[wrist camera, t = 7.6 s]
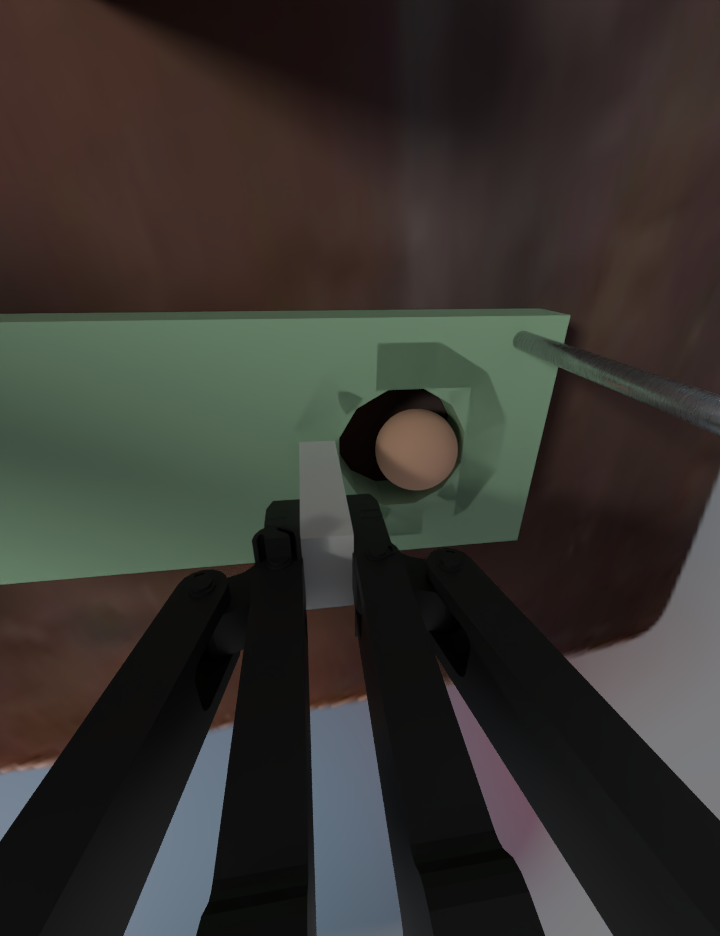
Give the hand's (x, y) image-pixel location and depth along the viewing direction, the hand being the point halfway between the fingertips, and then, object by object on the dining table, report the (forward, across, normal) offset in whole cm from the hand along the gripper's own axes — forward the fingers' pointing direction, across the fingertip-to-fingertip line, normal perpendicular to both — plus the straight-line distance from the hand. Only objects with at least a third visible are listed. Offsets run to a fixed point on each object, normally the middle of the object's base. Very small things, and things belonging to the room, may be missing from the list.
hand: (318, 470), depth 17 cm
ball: (+2, +5, 0) cm, 5 cm away
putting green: (+4, -4, 0) cm, 6 cm away
